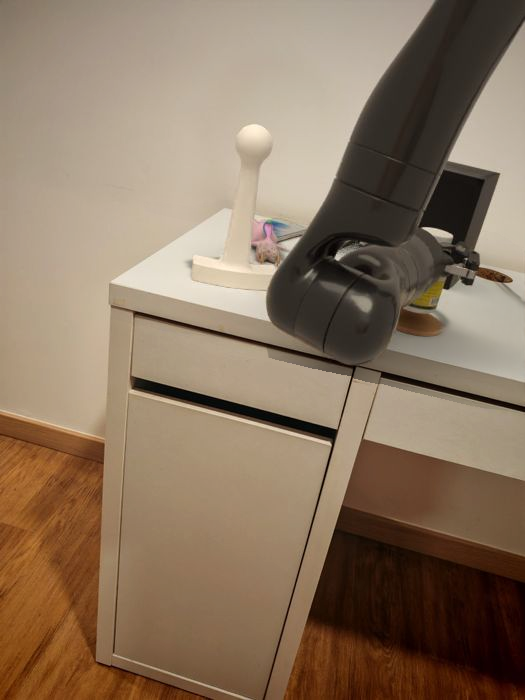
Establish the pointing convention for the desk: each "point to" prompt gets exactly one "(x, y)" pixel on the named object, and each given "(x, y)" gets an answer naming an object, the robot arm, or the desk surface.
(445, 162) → the robot arm
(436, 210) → the black open shelf
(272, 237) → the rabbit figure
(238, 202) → the joystick
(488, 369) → the desk surface
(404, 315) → the cork trivet
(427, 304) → the supplement bottle
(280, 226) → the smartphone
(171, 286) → the desk surface
